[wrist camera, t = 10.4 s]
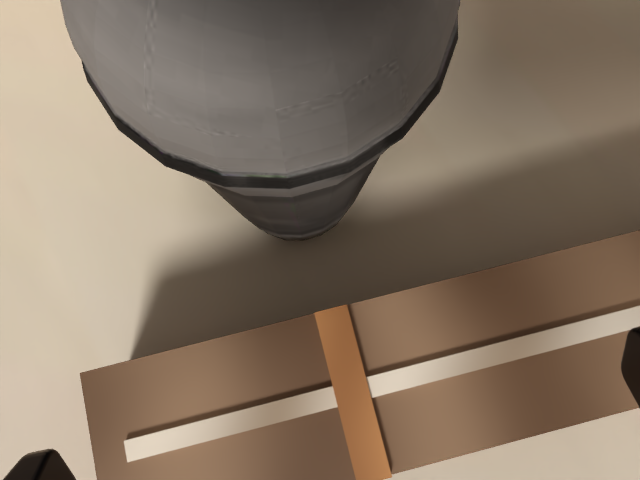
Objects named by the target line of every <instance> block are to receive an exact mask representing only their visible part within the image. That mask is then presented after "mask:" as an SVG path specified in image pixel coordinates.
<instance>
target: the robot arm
mask: <svg viewBox="0 0 640 480" xmlns="http://www.w3.org/2000/svg"><path fill="white" fill-rule="evenodd" d="M621 372H622V375H623V378H624V380H625V382H626V384H627V386H628V388H629V390H630V391H631V393H632V395H633V397H634V399H635V401H636V403H637V404H638V406H639V408H640V326H639V327H634V328H632V329H631V330H630V331H629V332H628V334H627V338H626V343H625V347H624V351H623V356H622V360H621ZM3 480H76V479H75V477H74V475H73V474H72V472H71V471H70V469H69V468H68V466H67V465H66V463H65V462H64V460H63V459H62V457H61V456H60V454H59V453H58V452H57V451H56V450H54V449H46V450H41V451H37V452H32V453H28V454H26V455H25V456H23V457H22V458H21V459H20V460H19V461H18V463H17V464H16V465H15V466H14V467H13V468H12V470H11V471H10V472H9V473H8V474H7V475H6V477H5V478H4V479H3Z"/></svg>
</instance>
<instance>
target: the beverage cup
mask: <svg viewBox="0 0 640 480" xmlns="http://www.w3.org/2000/svg"><path fill="white" fill-rule="evenodd" d="M60 2H61V6H62V11H63V16H64V20H65V25H66V28H67V30H68V33H69V36H70V38H71V41H72V44H73V46H74V49H75V50H76V52H77V53H78V55H79V57H80V58H81V60H82V64H83V69H84V72H85V75H86V78H87V81H88V83H89V85H90V86H91V88H92V89H93V91H94V92H95V94H96V96H97V97H98V99H99V100H100V102H101V103H102V105H103V106H104V108H105V110H106V111H107V113H108V114H109V116H110V117H111V119H112V121H113V122H114V124H115V125H116V127H117V128H118V130H120V131H121V132H122V133H123V134H125V135H126V136H127V137H129V138H130V139H131V140H132V141H134V142H135V143H136V144H138V145H139V146H140V147H141V148H143V149H144V150H145V151H147V152H148V153H149V154H150V155H152V156H153V157H154V158H155V159H157V160H158V161H159V162H161V163H162V164H163V165H164V166H166V167H169V168H172V169H175V170H177V171H180V172H183V173H186V174H189V175H191V176H193V177H195V178H197V179H200V180H202V181H205V182H206V183H207V184H208V185H210V186H211V187H212V188H213V189H214V190H215V191H216V192H217V193H218V194H220V195H221V196H222V197H223V198H224V199H225V200H226V201H227V202H228V203H229V204H231V205H232V206H233V207H234V208H235V209H236V210H237V211H238V212H239V213H241V214H242V215H243V216H244V217H245V218H246V219H248V220H249V221H250V222H252V223H253V224H254V225H255V226H257V227H258V228H259V229H261V230H263V231H265V232H266V233H267V234H270V235H273V236H276V237H278V238H281V239H284V240H305V239H309V238H313V237H316V236H320V235H322V234H323V233H325V232H326V231H328V230H329V229H331V228H332V227H334V226H335V225H336V224H337V223H338V221H339V220H340V219H341V218H342V217H343V215H344V214H345V213H346V212H347V210H348V209H349V208H350V207H351V205H352V204H353V203H354V201H355V199H356V197H357V196H358V194H359V192H360V190H361V189H362V187H363V185H364V183H365V182H366V180H367V178H368V176H369V174H370V173H371V171H372V169H373V167H374V166H375V164H376V162H377V160H378V159H379V157H380V155H381V154H382V153H383V152H384V151H385V150H387V149H388V148H389V147H390V146H392V145H393V144H395V143H396V142H398V141H399V140H401V139H402V138H403V137H404V136H405V135H406V133H407V132H408V131H409V130H410V128H411V127H412V126H413V125H414V123H415V122H416V121H417V120H418V118H419V117H420V116H421V115H422V113H423V112H424V111H425V110H426V108H427V107H428V106H429V105H430V103H431V102H432V101H433V100H434V98H435V97H436V96H437V94H438V93H439V92H440V89H441V86H442V83H443V80H444V78H445V75H446V72H447V69H448V66H449V63H450V60H451V57H452V54H453V52H454V49H455V46H456V43H457V40H458V10H459V6H460V0H60Z"/></svg>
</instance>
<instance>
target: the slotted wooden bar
mask: <svg viewBox="0 0 640 480" xmlns="http://www.w3.org/2000/svg"><path fill="white" fill-rule="evenodd" d="M639 326H640V230H638V231H634V232H630V233H626V234H622V235H618V236H614V237H611V238H607V239H603V240H599V241H595V242H591V243H587V244H583V245H579V246H575V247H571V248H568V249H564V250H560V251H556V252H552V253H548V254H544V255H540V256H536V257H532V258H528V259H524V260H521V261H517V262H513V263H509V264H505V265H501V266H497V267H493V268H489V269H485V270H481V271H478V272H474V273H470V274H466V275H462V276H458V277H454V278H450V279H446V280H442V281H438V282H434V283H431V284H427V285H423V286H419V287H415V288H411V289H407V290H403V291H399V292H395V293H391V294H387V295H384V296H380V297H376V298H372V299H368V300H364V301H360V302H356V303H352V304H348V305H347V304H346V305H342V306H338V307H334V308H330V309H326V310H322V311H318V312H314V313H313V314H309V315H305V316H301V317H297V318H294V319H290V320H286V321H282V322H278V323H274V324H270V325H266V326H262V327H258V328H254V329H251V330H247V331H243V332H239V333H235V334H231V335H227V336H223V337H219V338H215V339H211V340H207V341H204V342H200V343H196V344H192V345H188V346H184V347H180V348H176V349H172V350H168V351H164V352H161V353H157V354H153V355H149V356H145V357H141V358H137V359H133V360H129V361H125V362H121V363H117V364H114V365H110V366H106V367H102V368H98V369H94V370H90V371H86V372H82V373H80V377H81V383H82V390H83V396H84V402H85V408H86V414H87V420H88V426H89V433H90V439H91V445H92V451H93V457H94V463H95V470H96V476H97V480H383V479H387V478H390V477H392V475H391V474H395V473H399V472H403V471H406V470H410V469H414V468H417V467H421V466H425V465H428V464H432V463H436V462H440V461H443V460H447V459H451V458H454V457H458V456H462V455H465V454H469V453H473V452H477V451H480V450H484V449H488V448H491V447H495V446H499V445H502V444H506V443H510V442H514V441H517V440H521V439H525V438H528V437H532V436H536V435H539V434H543V433H547V432H550V431H554V430H558V429H562V428H565V427H569V426H573V425H576V424H580V423H584V422H587V421H591V420H595V419H599V418H602V417H606V416H610V415H613V414H617V413H621V412H624V411H628V410H632V409H636V408H639V406H638V404H637V403H636V401H635V399H634V397H633V395H632V393H631V391H630V390H629V388H628V386H627V384H626V382H625V380H624V378H623V375H622V372H621V360H622V356H623V351H624V347H625V343H626V338H627V334H628V332H629V331H630V330H631V329H632V328H634V327H639Z"/></svg>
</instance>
